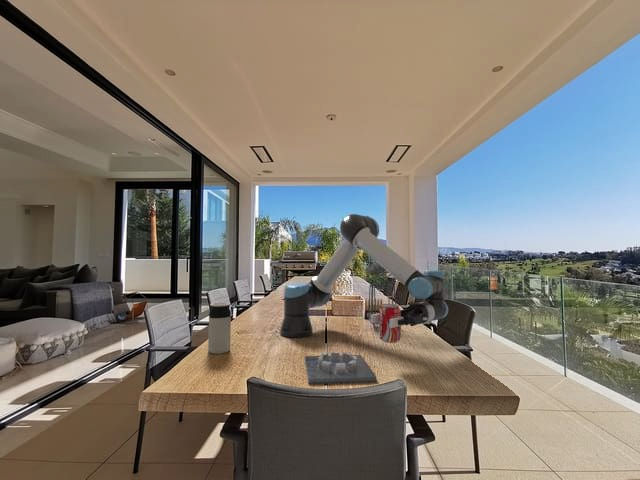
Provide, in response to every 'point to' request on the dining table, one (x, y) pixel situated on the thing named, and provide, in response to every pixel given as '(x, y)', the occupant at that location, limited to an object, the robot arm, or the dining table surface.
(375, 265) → the geometric lantern
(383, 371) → the dining table surface
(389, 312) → the soda can
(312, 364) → the square lugged base plate
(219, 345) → the travel mug
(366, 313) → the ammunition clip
